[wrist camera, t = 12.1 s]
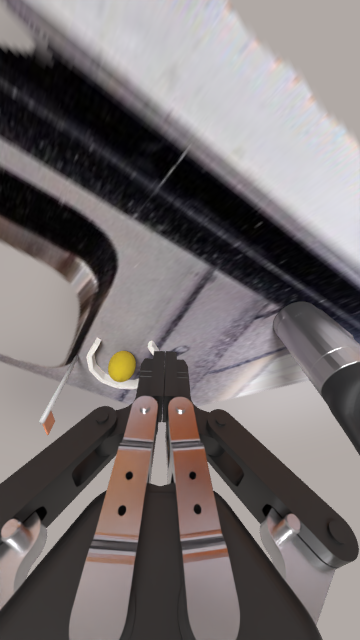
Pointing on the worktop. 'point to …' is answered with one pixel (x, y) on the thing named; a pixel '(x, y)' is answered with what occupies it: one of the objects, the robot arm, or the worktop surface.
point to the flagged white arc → (48, 417)
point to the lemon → (121, 366)
